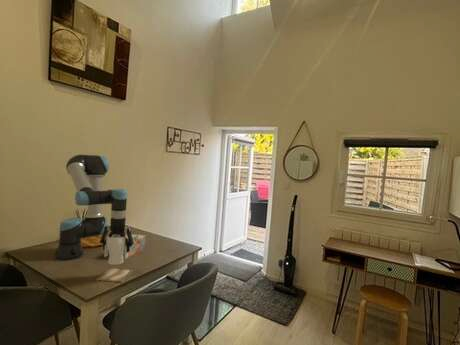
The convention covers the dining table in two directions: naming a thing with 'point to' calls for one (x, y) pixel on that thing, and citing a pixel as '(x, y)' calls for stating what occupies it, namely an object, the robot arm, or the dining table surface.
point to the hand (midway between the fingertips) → (116, 256)
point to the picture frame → (114, 275)
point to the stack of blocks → (136, 244)
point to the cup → (115, 248)
